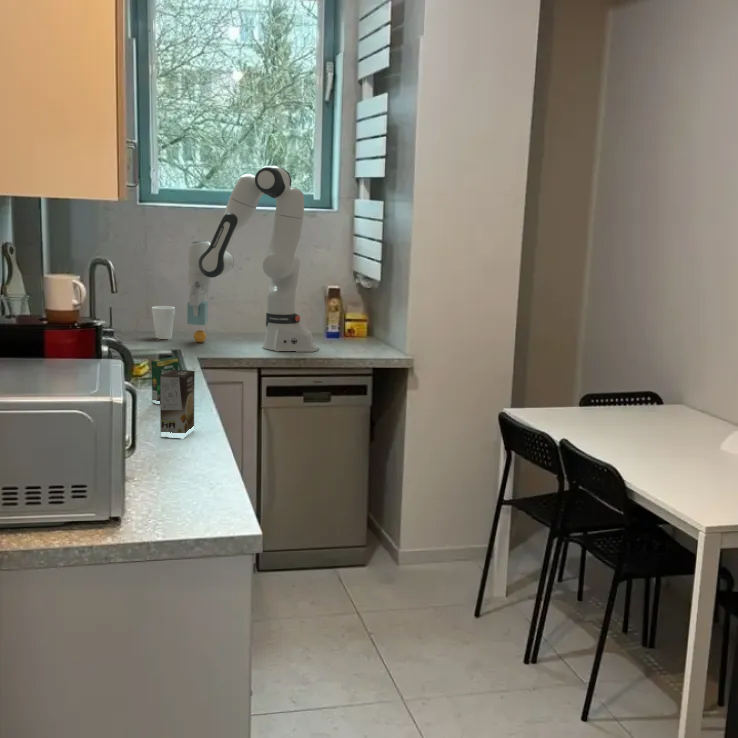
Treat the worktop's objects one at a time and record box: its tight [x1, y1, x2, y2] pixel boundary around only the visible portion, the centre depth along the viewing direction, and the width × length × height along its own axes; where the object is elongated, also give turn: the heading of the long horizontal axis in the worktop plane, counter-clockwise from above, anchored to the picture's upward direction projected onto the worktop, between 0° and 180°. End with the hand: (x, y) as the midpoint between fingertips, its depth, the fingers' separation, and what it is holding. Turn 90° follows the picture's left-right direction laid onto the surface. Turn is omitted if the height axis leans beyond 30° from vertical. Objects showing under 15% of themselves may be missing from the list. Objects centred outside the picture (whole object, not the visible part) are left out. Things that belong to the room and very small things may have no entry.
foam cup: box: [151, 305, 176, 340], centre depth 373 cm, size 10×9×13 cm
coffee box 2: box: [150, 356, 179, 401], centre depth 262 cm, size 8×3×13 cm, turn 139°
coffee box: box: [159, 369, 196, 433], centre depth 228 cm, size 9×6×16 cm
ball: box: [193, 329, 207, 343], centre depth 368 cm, size 5×5×5 cm
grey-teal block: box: [186, 300, 209, 326], centre depth 366 cm, size 7×7×9 cm
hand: (198, 314), depth 366 cm, fingers closed on grey-teal block, 7 cm apart
